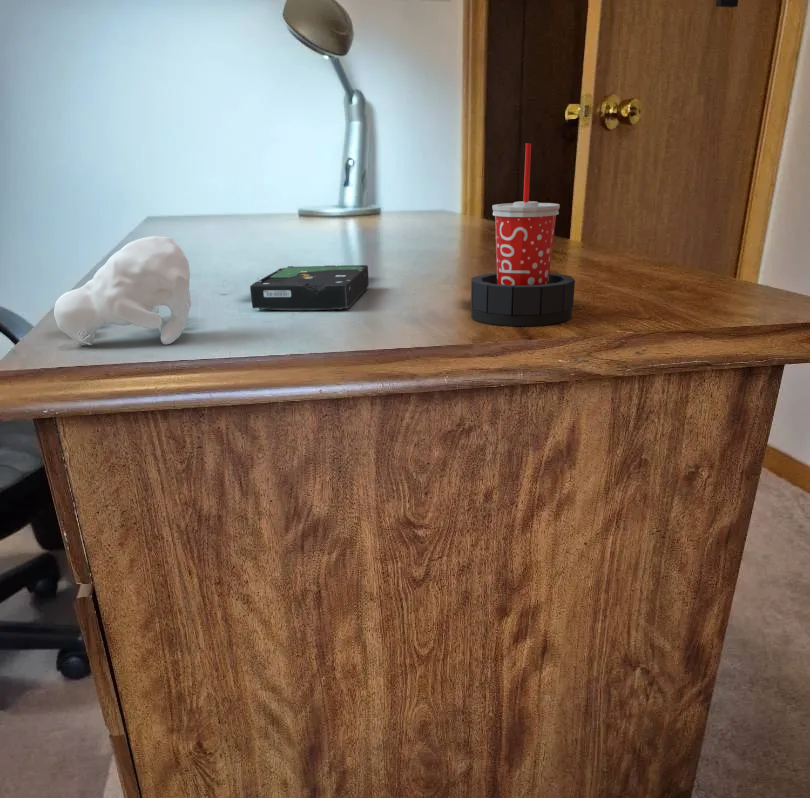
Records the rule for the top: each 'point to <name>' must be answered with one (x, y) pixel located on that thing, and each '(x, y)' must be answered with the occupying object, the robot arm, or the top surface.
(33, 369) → the top surface
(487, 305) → the segmented ring
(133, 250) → the white lumpy figure
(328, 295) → the disk drive
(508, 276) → the beverage cup
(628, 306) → the top surface
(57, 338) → the top surface
